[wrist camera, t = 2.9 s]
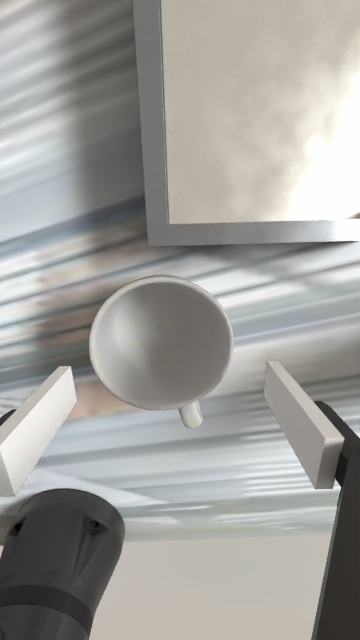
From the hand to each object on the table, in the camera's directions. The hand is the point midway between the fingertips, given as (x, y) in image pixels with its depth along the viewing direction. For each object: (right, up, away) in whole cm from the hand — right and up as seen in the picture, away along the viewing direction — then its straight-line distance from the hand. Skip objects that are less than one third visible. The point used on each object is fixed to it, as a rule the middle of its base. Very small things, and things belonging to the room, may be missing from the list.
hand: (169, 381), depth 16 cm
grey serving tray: (+8, +21, +4) cm, 23 cm away
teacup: (0, +3, +10) cm, 10 cm away
